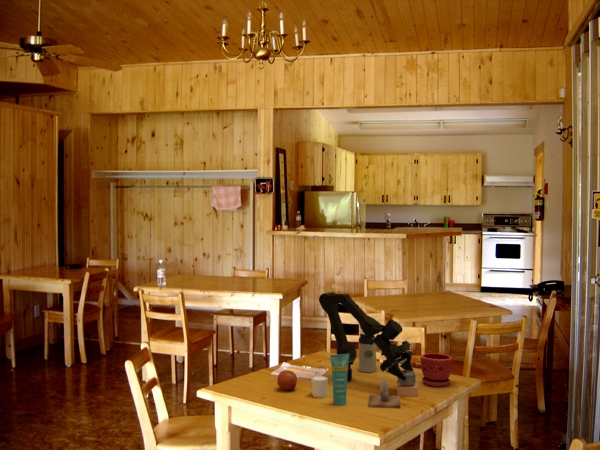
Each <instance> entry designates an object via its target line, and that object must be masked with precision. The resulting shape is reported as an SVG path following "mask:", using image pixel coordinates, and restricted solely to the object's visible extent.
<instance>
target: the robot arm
mask: <svg viewBox="0 0 600 450" xmlns="http://www.w3.org/2000/svg"><path fill="white" fill-rule="evenodd" d="M318 303H319V304H320V306H321V309H322V310H323V311H324V312H325V313H326V314H327V316H328V320H329V324H330V326H331V329H332V332H333V335H334V338H335V341H336V344H337V346H336V355H341V354H349V362H348V375H347V383H348V382H349V383H350V382H351V381H352V380H353V368H352V367H351V365H354V362H355V361H356V359H357V353H358V352H357V349H356V346H355V344H354V343H352V344H351V343H350V341H348V337H347V333H346V332H345V331H346V330H345V328H344V325H343V322H342V319H341V316H340V313H339V305H342V306H343V307H344V308H345V310H347V312H348V313H349V314H350V315H351V316H352V317H353V318H354V319H355V320H356V321H357V322H358V325H359V328H360V330H361V331H363V332H364V334H365V335H366V336H373V335H375V337H374V338H371V339H370V340H371V341H370V345H373V344H376V348H378V349H379V351H380V352H381V353H380V355H381V357H383V356H384V357H385V360H384V361H383V362H381V363H380V365H379V369H380V371H381V372H382V373H384V372H385V373H388V374H391V375H393V376H395V377H396V378H397V379H398V378H400V379H402V380H404V381H405V380H406V378H405V376H404V374H403V373H402V370H401V368H402V369H403V370H410V371H414V369H413V366H412V359H413V356H414V353H413V351H411V348H410V347H411V343H410V342H409V341H408V340H402V342H401V344H400V345H397V344H396V343H394V344H393V343H392V341H394V340H395V339H396V338H397V337H399V335H400V334H401V333H402V332H403V327H402V325H401V324H399V323H398V322H397V321H394V320H393V319H388V321H387V322H386V323H385V324H381V322H379V321H378V320H376V318H374V317H371V316H370V315H368V314H366V312H365V311H364V310H363V309H362V308H361V307H360V306H359V305H358V304H357V303H356V302H355V301H354V300H353V299H352V297H351V295H350V294H348V293H336V292H333V291H329V292H324V293H321V294H320V295H319V297H318Z"/></svg>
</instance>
